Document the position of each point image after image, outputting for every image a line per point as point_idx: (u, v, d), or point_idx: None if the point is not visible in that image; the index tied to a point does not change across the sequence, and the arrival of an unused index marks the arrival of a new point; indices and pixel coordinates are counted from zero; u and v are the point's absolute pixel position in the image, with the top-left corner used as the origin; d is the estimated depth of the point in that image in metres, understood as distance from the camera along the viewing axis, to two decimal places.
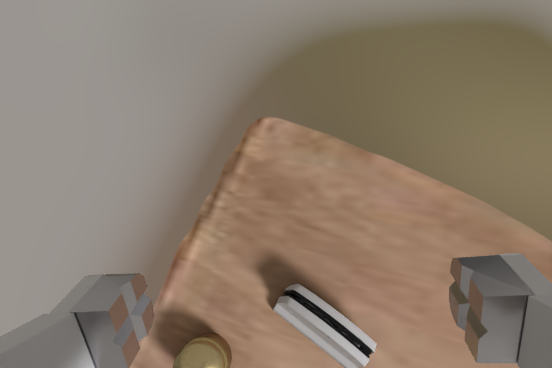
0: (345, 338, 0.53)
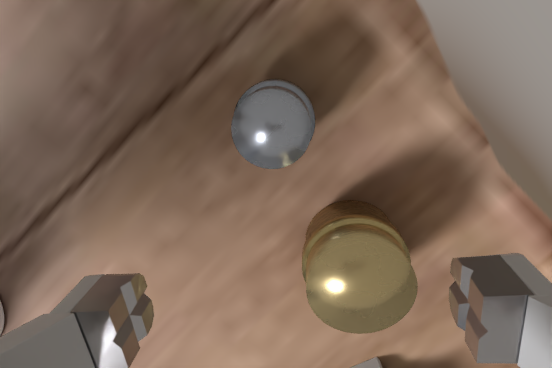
0: None
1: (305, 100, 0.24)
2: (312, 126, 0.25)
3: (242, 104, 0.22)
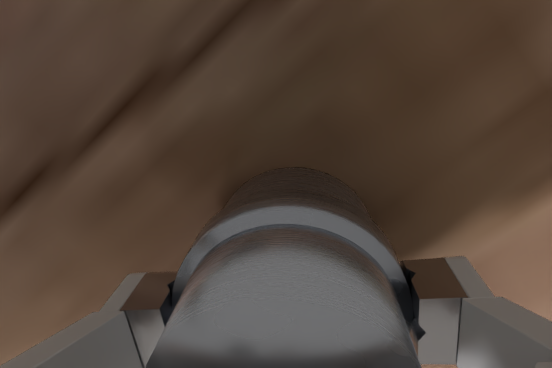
0: None
1: (393, 274, 0.08)
2: None
3: (181, 331, 0.06)
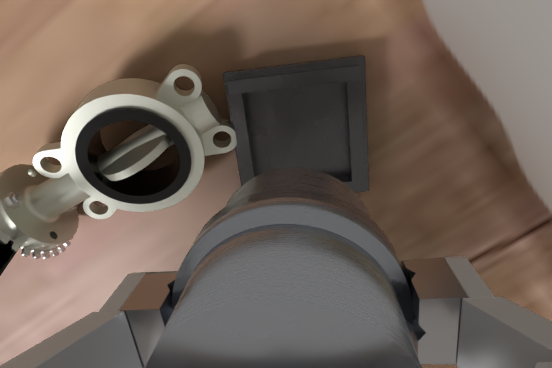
0: None
1: (393, 274, 0.08)
2: None
3: (182, 331, 0.06)
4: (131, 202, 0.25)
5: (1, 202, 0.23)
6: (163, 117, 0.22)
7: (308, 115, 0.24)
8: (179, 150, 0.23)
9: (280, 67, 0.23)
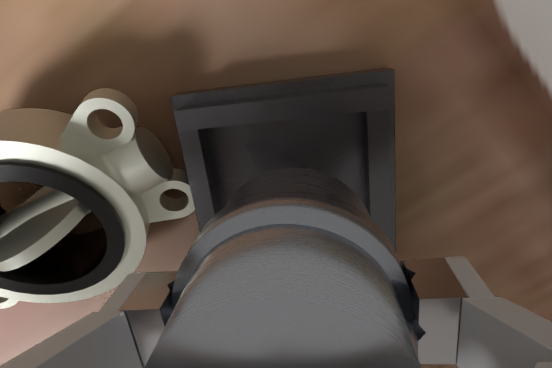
0: None
1: (393, 275, 0.08)
2: None
3: (181, 332, 0.06)
4: (37, 292, 0.17)
5: None
6: (70, 175, 0.14)
7: (304, 159, 0.16)
8: (103, 222, 0.15)
9: (259, 87, 0.15)
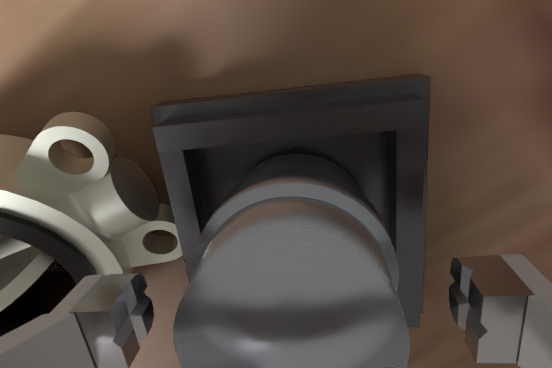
0: None
1: (382, 240, 0.09)
2: None
3: (208, 276, 0.07)
4: None
5: None
6: (27, 221, 0.11)
7: None
8: (72, 273, 0.12)
9: (261, 97, 0.12)
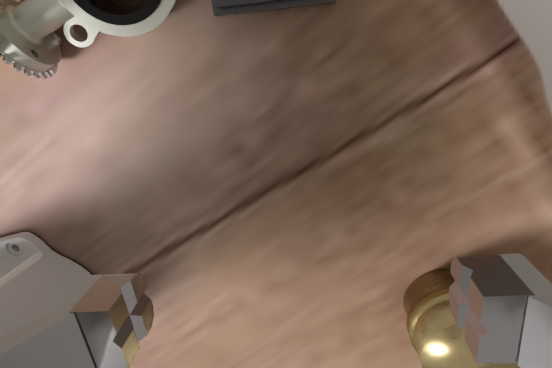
0: None
1: None
2: None
3: None
4: (108, 22, 0.26)
5: None
6: None
7: None
8: None
9: None
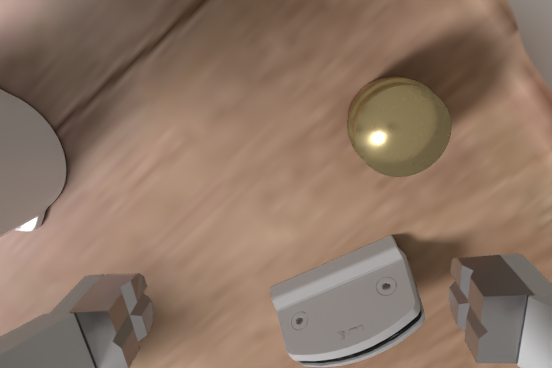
0: None
1: None
2: None
3: None
4: None
5: None
6: None
7: None
8: None
9: None
